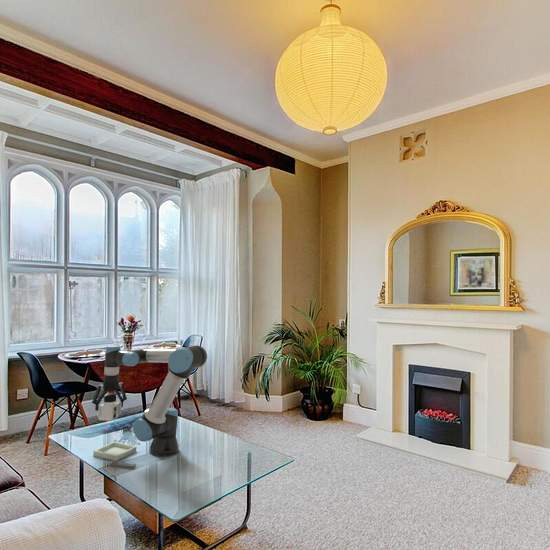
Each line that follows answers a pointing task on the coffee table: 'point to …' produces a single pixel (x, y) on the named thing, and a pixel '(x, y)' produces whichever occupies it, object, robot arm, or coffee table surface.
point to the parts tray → (114, 451)
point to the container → (109, 408)
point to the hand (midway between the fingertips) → (108, 414)
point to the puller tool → (123, 465)
